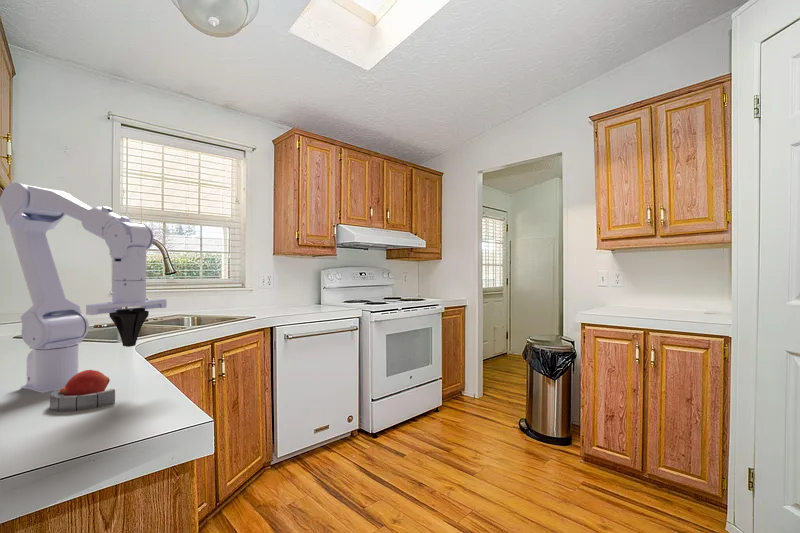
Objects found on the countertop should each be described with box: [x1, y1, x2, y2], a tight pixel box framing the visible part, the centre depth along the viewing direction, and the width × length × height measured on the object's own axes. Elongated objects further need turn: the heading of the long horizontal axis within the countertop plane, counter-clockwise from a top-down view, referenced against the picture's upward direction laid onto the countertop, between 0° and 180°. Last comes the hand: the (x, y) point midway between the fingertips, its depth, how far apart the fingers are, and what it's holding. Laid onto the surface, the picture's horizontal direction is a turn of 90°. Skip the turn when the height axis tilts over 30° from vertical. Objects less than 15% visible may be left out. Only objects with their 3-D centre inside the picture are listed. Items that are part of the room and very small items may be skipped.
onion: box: [59, 369, 110, 396], centre depth 72 cm, size 6×6×8 cm
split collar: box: [49, 386, 116, 413], centre depth 71 cm, size 11×7×3 cm, turn 65°
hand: (129, 345), depth 79 cm, fingers closed
